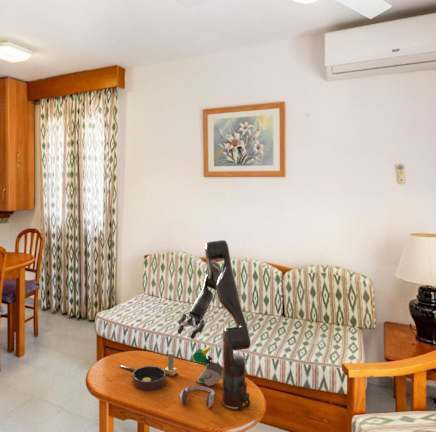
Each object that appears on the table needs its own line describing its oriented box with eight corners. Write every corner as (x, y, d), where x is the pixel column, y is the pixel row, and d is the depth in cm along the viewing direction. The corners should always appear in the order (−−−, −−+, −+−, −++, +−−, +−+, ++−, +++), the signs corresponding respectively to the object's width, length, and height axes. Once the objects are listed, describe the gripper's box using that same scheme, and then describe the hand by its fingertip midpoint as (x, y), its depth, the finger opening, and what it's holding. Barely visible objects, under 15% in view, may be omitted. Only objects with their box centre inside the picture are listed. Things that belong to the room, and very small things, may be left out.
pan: (171, 380, 184) (171, 371, 183) (152, 395, 171) (152, 385, 170) (146, 371, 192) (146, 363, 191) (126, 385, 179) (126, 376, 179)
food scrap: (152, 380, 183) (152, 378, 183) (147, 384, 179) (147, 382, 179) (145, 378, 185) (145, 376, 185) (140, 381, 181) (140, 380, 181)
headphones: (210, 415, 155) (217, 396, 174) (211, 400, 155) (218, 383, 174) (168, 408, 159) (180, 391, 178) (169, 394, 159) (180, 378, 179)
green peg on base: (177, 374, 189) (177, 352, 189) (172, 377, 186) (172, 355, 185) (168, 371, 192) (168, 350, 191) (164, 375, 189) (164, 353, 188)
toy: (235, 376, 174) (202, 344, 178) (212, 402, 177) (179, 369, 181) (237, 371, 180) (205, 340, 184) (214, 395, 183) (183, 364, 187)
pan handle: (138, 373, 186) (138, 369, 185) (135, 374, 184) (135, 371, 184) (121, 367, 191) (121, 364, 191) (118, 368, 190) (118, 365, 190)
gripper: (186, 301, 205) (171, 328, 198) (207, 307, 196) (192, 336, 188) (192, 308, 210) (178, 335, 202) (213, 315, 200) (199, 343, 193)
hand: (185, 335), depth 195 cm, fingers open, 8 cm apart
